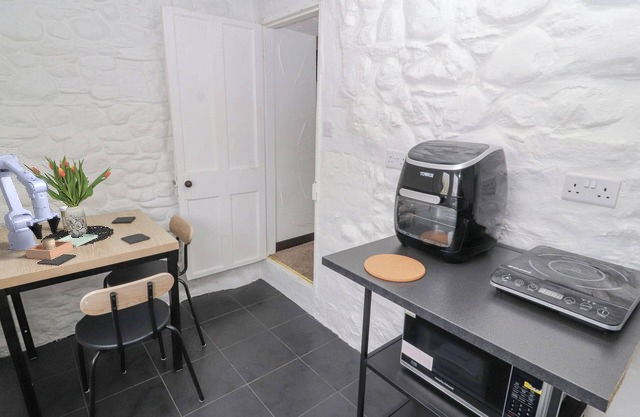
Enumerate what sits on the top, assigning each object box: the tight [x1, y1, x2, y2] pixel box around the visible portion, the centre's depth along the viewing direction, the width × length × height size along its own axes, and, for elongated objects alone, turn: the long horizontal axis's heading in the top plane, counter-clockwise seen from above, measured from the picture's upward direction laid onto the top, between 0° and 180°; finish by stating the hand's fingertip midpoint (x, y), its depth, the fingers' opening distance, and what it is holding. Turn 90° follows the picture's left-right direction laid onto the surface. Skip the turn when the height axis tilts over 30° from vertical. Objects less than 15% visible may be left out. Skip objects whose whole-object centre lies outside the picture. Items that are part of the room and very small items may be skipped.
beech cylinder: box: [41, 237, 56, 250], centre depth 159 cm, size 5×5×6 cm
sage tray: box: [56, 233, 99, 248], centre depth 175 cm, size 14×14×2 cm
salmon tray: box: [24, 239, 74, 261], centre depth 159 cm, size 12×12×4 cm
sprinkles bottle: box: [59, 205, 69, 232], centre depth 190 cm, size 5×5×13 cm
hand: (47, 236), depth 158 cm, fingers open, 7 cm apart
